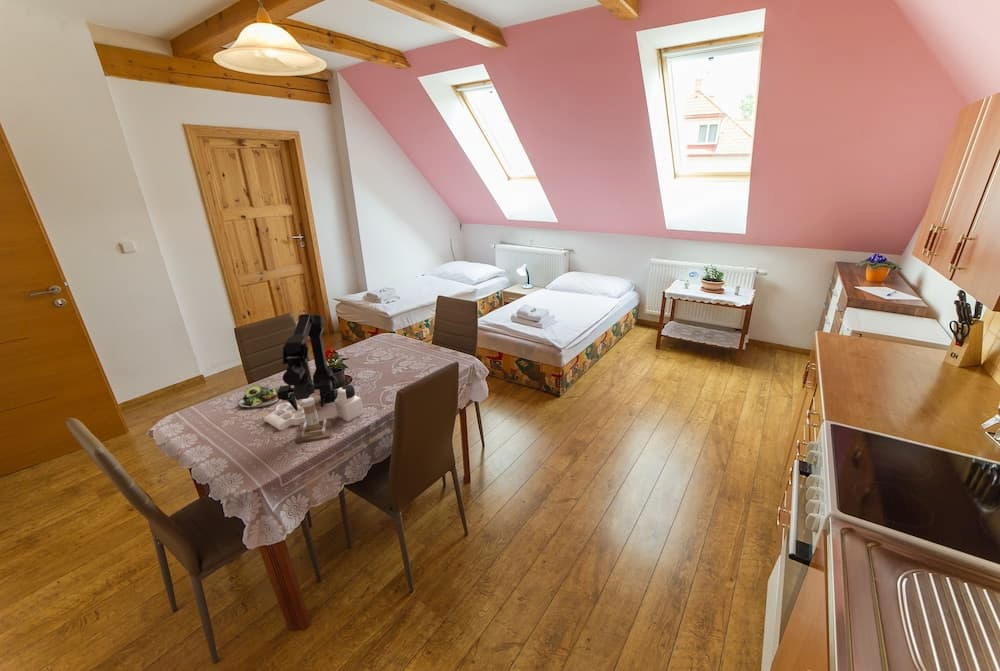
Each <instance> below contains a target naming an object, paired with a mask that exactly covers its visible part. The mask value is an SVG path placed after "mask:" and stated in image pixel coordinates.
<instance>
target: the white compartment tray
mask: <svg viewBox="0 0 1000 671" xmlns="http://www.w3.org/2000/svg"><path fill="white" fill-rule="evenodd" d="M297 407H298V410H297V411H296V410H295V409H294V407H293V406H292V405H291V404H290V403H289V402H283V403H279V404H278V405H276V407H275V410H274V411H272V412H270V413H268V414H267V415H265V416H264V418H263V420H264V422H267V423H268V424H270V426H271V427H272V426H273V427H274V428H275V429H277V430H279V431H283V430H285V429H287V428H289V427H290V426H300V425H301V423H304V422H306V418H305V414H304V409H303V406H301V405H300V404H298V403H297Z"/></svg>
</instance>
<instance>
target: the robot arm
mask: <svg viewBox="0 0 1000 671" xmlns="http://www.w3.org/2000/svg"><path fill="white" fill-rule="evenodd" d="M297 319H298V322H297V323H296V327H295V329H294V332H293V335H292V336H290V337H288V338H287V339H286V341H285V343H284V345H283V346H282V365H287V367H286V370H285V372H284V373H283V375H282V381H283V382H284V383H285V384H286V385H280V386H279V387H280V388H279V389H278V392H277V397H278V399H279V400H278V401H280V400H282V401H287V403H290V404H291V405H292V406H293V407H294V409H295V410H296V411H297V410H298V407H297V404H298V402H297V401H300V400H303V399H308V398H309V397H311V396H312V394H315V391H317V390H319V396H320V405H321V407H322V408H323V407H324V403H329V402H335V400H336V399H338V392H336V391H335V390H336V387H337V386H339V383H338V378H337V377H336V376H335V375H334V374H333V372H334V371H333V370H332V369H331V368H330V366H328V362H327V357H326V352H325V346H324V340H323V336H322V334H323V332H324V329H325V323H326V322H325V317H324V316H322V315H321V314H314V313H313V314H312V313H300V314H299V315H298V318H297ZM308 337H309V339H310V344H311V349H312V350H311V351H312V355H313V360H314V365H315V371H314V373H313V375H312V376H311V370H310V366H309V362H308V359H309V356H310V355H309V353H310V347H309V345H308V342H307V339H308ZM292 386H293V387H292Z"/></svg>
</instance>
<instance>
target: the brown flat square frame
mask: <svg viewBox="0 0 1000 671" xmlns="http://www.w3.org/2000/svg"><path fill="white" fill-rule="evenodd" d="M333 421H334V419H333V417H330V418H322V419H319V425H320V429H319V430H316V431H308V425H307V422H304V423H301V425H299V429H298V433H297V436H296V439H295V444H300V443H302V444H303V443H307V442H312V441H318V440H324V439H330V438H331V434H332V433H331V432H332V426H333Z"/></svg>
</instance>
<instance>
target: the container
mask: <svg viewBox="0 0 1000 671" xmlns="http://www.w3.org/2000/svg"><path fill="white" fill-rule="evenodd" d="M336 393H337V399H336V400H335V401H334V404H335V409H336V410H335V411H336V413H337V416H338V417H339V418H341V419H343V420H344V421H346V422H350V421H351V420H354V419H356V418H358V417H360V416H361V415H363V414H364V410H363V403H362V398H361V397H359V396H357V395H356V392H355V386H353V385H351V384H346V385H342V386H340V387H338V389H337V392H336Z"/></svg>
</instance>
